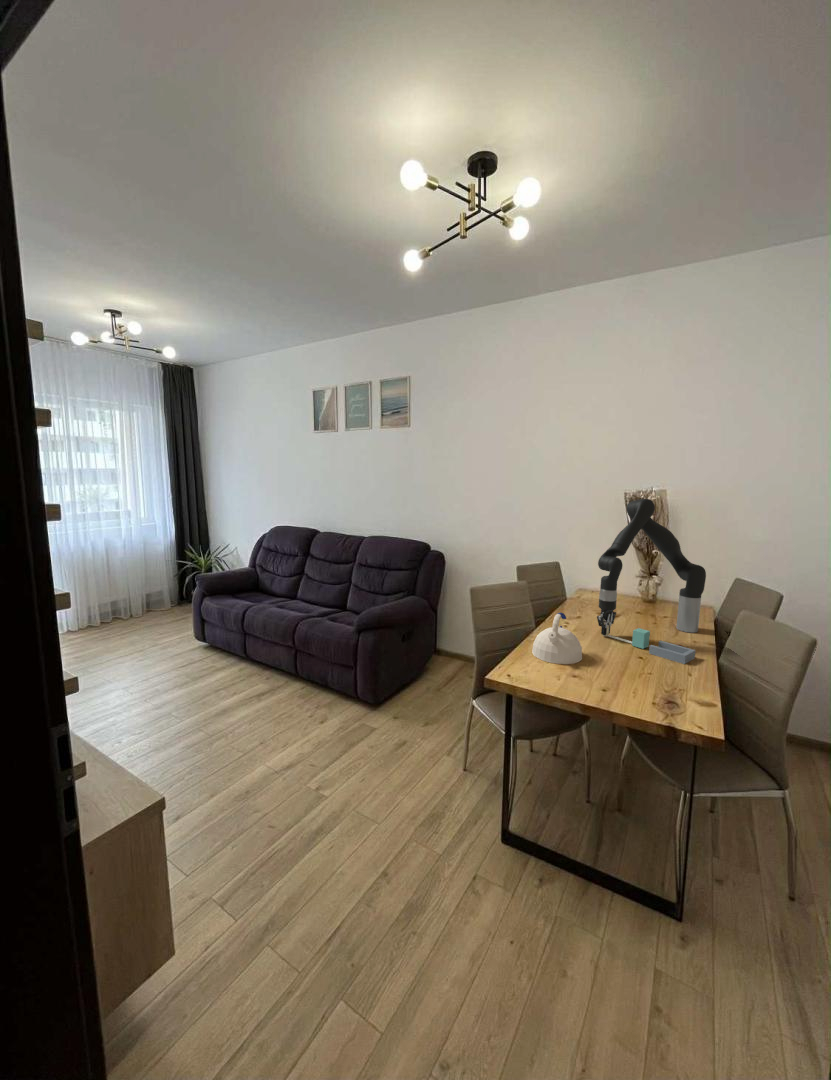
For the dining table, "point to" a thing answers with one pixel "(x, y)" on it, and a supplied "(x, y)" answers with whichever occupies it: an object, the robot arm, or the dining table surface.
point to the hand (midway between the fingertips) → (605, 633)
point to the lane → (672, 652)
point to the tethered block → (635, 638)
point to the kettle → (557, 644)
